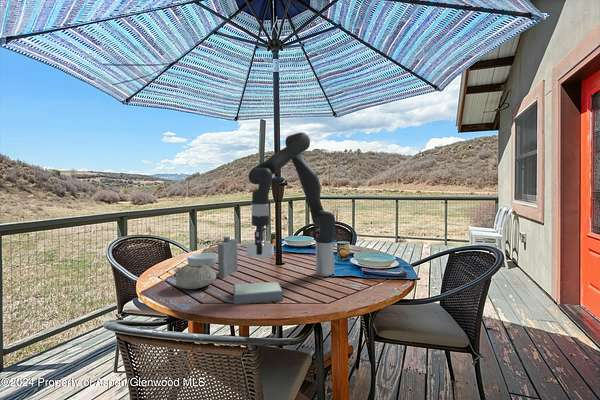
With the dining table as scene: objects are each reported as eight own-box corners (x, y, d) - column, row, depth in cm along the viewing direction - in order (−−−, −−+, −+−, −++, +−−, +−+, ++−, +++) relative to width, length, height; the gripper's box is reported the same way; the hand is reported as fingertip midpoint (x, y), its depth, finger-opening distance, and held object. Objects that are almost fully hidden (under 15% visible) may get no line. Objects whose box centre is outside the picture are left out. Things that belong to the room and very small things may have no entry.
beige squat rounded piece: (194, 279, 168) (193, 259, 167) (223, 283, 161) (223, 263, 160) (168, 290, 151) (167, 268, 151) (199, 295, 144) (198, 272, 144)
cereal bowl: (224, 266, 193) (224, 254, 192) (201, 273, 179) (201, 260, 178) (204, 262, 202) (204, 251, 201) (181, 268, 188) (181, 256, 187)
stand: (278, 290, 150) (278, 281, 150) (283, 300, 138) (282, 290, 137) (233, 293, 146) (233, 284, 146) (233, 304, 134) (233, 294, 133)
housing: (249, 253, 148) (249, 239, 148) (274, 254, 148) (274, 240, 147) (246, 257, 141) (246, 242, 141) (271, 258, 141) (271, 242, 140)
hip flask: (222, 278, 168) (222, 239, 167) (216, 278, 170) (215, 239, 168) (238, 270, 183) (237, 234, 182) (232, 269, 185) (231, 234, 183)
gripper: (255, 212, 151) (255, 249, 152) (248, 215, 136) (248, 256, 137) (271, 212, 150) (271, 250, 151) (266, 216, 136) (266, 257, 137)
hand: (260, 253), depth 144 cm, fingers closed on housing, 5 cm apart
